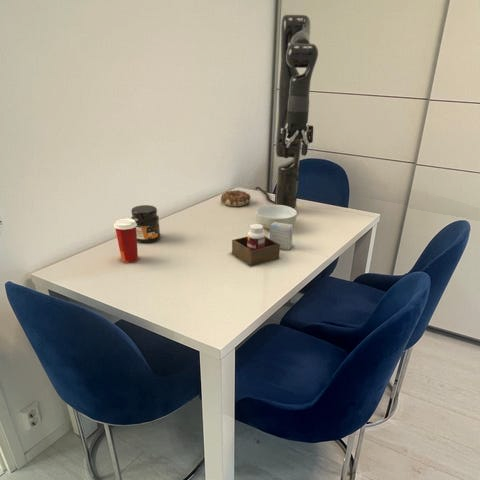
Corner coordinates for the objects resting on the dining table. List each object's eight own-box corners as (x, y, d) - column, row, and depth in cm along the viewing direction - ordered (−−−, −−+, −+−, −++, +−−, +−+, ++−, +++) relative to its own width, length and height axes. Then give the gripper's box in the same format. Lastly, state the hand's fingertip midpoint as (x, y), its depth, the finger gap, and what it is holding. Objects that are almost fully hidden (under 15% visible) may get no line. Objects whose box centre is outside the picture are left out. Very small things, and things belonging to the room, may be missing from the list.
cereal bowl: (249, 230, 188) (250, 214, 184) (263, 218, 201) (263, 202, 197) (289, 237, 183) (290, 220, 179) (300, 223, 196) (301, 207, 192)
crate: (231, 253, 168) (232, 239, 165) (259, 247, 174) (260, 233, 171) (250, 266, 159) (251, 251, 156) (279, 258, 165) (280, 244, 162)
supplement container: (136, 245, 174) (132, 214, 168) (131, 235, 182) (127, 206, 176) (163, 241, 177) (160, 211, 171) (157, 232, 186) (154, 203, 179)
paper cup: (144, 256, 165) (140, 219, 158) (133, 265, 159) (129, 226, 151) (125, 253, 167) (120, 216, 160) (114, 262, 161) (108, 223, 154)
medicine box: (292, 246, 175) (293, 224, 170) (288, 250, 171) (289, 228, 167) (272, 242, 178) (274, 221, 173) (268, 246, 174) (269, 225, 170)
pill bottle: (243, 254, 167) (244, 225, 161) (256, 250, 170) (257, 221, 164) (254, 259, 163) (255, 230, 157) (267, 255, 166) (268, 226, 160)
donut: (239, 209, 211) (239, 199, 208) (215, 204, 217) (215, 193, 214) (255, 201, 221) (256, 191, 218) (232, 196, 227) (232, 186, 225)
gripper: (306, 106, 168) (303, 152, 177) (275, 109, 162) (273, 156, 170) (320, 109, 163) (315, 156, 172) (288, 111, 156) (285, 160, 165)
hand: (294, 156), depth 171 cm, fingers open, 8 cm apart
